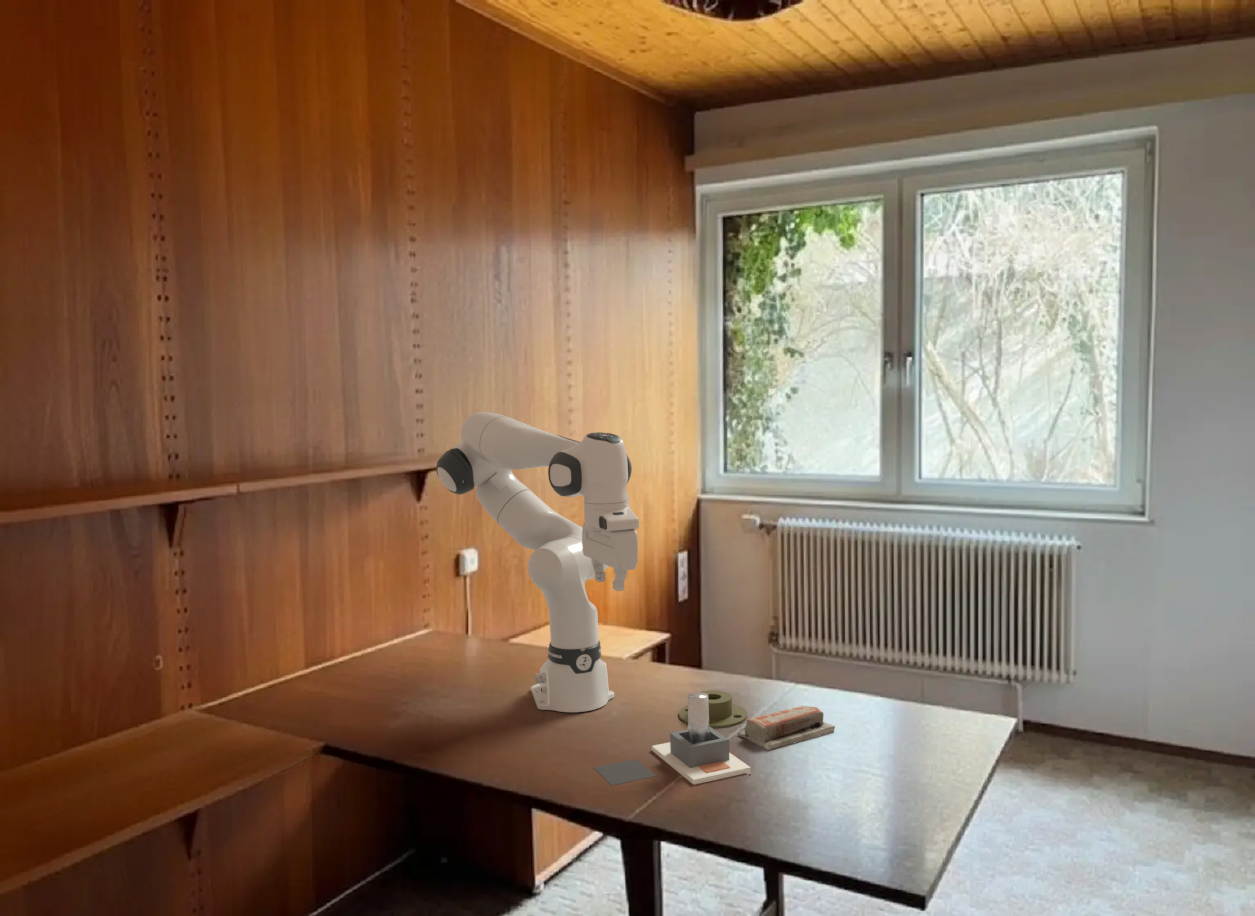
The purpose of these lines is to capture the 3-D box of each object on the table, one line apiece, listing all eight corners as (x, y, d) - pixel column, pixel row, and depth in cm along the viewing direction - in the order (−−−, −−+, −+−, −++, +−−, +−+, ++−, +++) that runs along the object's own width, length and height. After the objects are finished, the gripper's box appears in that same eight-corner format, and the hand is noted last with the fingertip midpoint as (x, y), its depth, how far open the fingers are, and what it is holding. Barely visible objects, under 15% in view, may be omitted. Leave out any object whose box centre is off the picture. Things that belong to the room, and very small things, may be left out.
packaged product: (768, 729, 187) (737, 715, 196) (768, 753, 188) (737, 737, 196) (835, 710, 196) (803, 698, 205) (835, 733, 197) (803, 719, 205)
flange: (692, 682, 218) (668, 703, 204) (755, 689, 211) (734, 712, 198) (693, 702, 218) (669, 724, 204) (755, 710, 212) (735, 733, 198)
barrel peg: (685, 754, 183) (683, 694, 182) (703, 750, 184) (702, 691, 184) (694, 761, 179) (693, 700, 178) (713, 758, 181) (712, 697, 180)
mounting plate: (651, 753, 188) (651, 726, 187) (705, 742, 193) (704, 716, 192) (693, 787, 171) (693, 758, 171) (750, 775, 176) (750, 746, 176)
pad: (593, 770, 180) (593, 767, 180) (636, 761, 184) (636, 758, 184) (611, 788, 172) (611, 785, 172) (656, 779, 176) (656, 775, 176)
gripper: (573, 511, 192) (575, 578, 193) (611, 523, 174) (614, 597, 175) (601, 508, 195) (604, 574, 196) (643, 520, 176) (645, 593, 177)
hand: (609, 585), depth 185 cm, fingers open, 8 cm apart
